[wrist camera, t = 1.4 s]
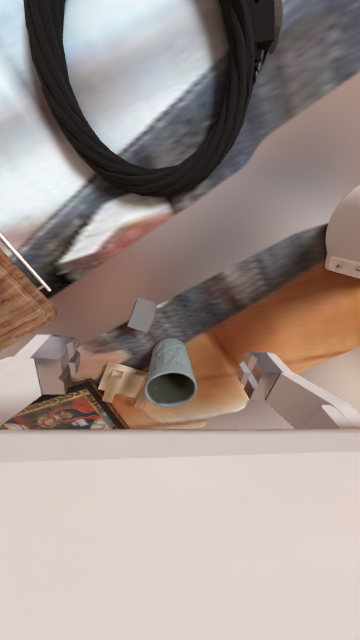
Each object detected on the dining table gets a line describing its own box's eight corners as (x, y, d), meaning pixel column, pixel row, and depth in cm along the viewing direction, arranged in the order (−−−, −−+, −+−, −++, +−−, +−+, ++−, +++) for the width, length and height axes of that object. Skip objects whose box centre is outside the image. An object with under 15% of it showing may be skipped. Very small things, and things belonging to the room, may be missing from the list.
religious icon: (54, 468, 68) (50, 478, 65) (-35, 413, 52) (-45, 423, 49) (148, 435, 64) (147, 443, 61) (82, 363, 48) (78, 371, 45)
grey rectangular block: (155, 303, 40) (154, 316, 35) (149, 318, 42) (147, 333, 37) (137, 296, 39) (134, 308, 34) (131, 312, 41) (127, 326, 36)
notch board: (160, 375, 50) (160, 390, 46) (149, 395, 53) (148, 411, 49) (108, 361, 46) (102, 375, 42) (100, 383, 50) (94, 398, 45)
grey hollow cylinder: (196, 344, 46) (206, 381, 36) (177, 372, 50) (181, 413, 40) (159, 329, 43) (158, 364, 33) (142, 360, 47) (136, 400, 37)
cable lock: (-60, -143, 16) (291, -279, 15) (-21, -79, 19) (267, -185, 18) (91, 217, 29) (282, 163, 28) (98, 218, 32) (269, 169, 31)
